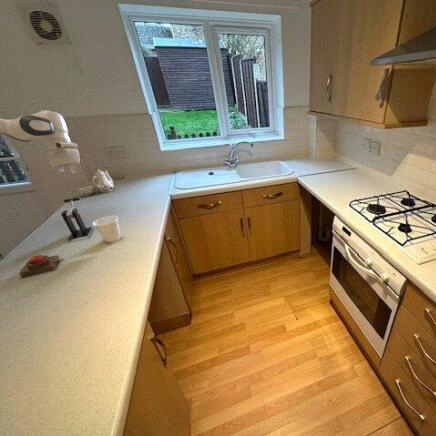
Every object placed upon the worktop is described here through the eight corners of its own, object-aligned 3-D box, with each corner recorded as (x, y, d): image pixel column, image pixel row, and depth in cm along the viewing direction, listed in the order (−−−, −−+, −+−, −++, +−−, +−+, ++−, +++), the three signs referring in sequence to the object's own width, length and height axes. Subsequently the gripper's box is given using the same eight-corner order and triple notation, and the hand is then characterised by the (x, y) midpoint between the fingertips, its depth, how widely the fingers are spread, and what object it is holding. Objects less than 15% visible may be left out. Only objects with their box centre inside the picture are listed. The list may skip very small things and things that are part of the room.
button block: (22, 277, 95) (16, 270, 93) (30, 266, 101) (25, 258, 99) (54, 270, 98) (49, 262, 97) (60, 259, 105) (56, 251, 103)
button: (29, 265, 96) (26, 262, 95) (33, 259, 99) (31, 256, 98) (42, 262, 97) (40, 259, 96) (45, 257, 100) (43, 253, 100)
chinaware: (107, 186, 193) (97, 165, 185) (126, 183, 191) (117, 163, 183) (79, 200, 168) (65, 177, 160) (100, 197, 167) (88, 174, 159)
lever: (66, 201, 122) (63, 198, 120) (80, 199, 125) (78, 196, 123) (64, 219, 116) (61, 216, 114) (79, 216, 118) (76, 213, 116)
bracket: (74, 232, 125) (61, 208, 119) (92, 228, 128) (81, 205, 122) (68, 242, 117) (54, 217, 111) (88, 237, 120) (76, 213, 114)
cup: (114, 246, 113) (105, 226, 107) (96, 245, 114) (86, 225, 109) (130, 235, 121) (122, 216, 116) (113, 234, 123) (104, 215, 117)
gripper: (41, 148, 120) (49, 176, 123) (63, 143, 112) (71, 173, 114) (57, 149, 126) (65, 175, 128) (79, 143, 117) (86, 172, 120)
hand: (68, 174), depth 121 cm, fingers open, 8 cm apart
